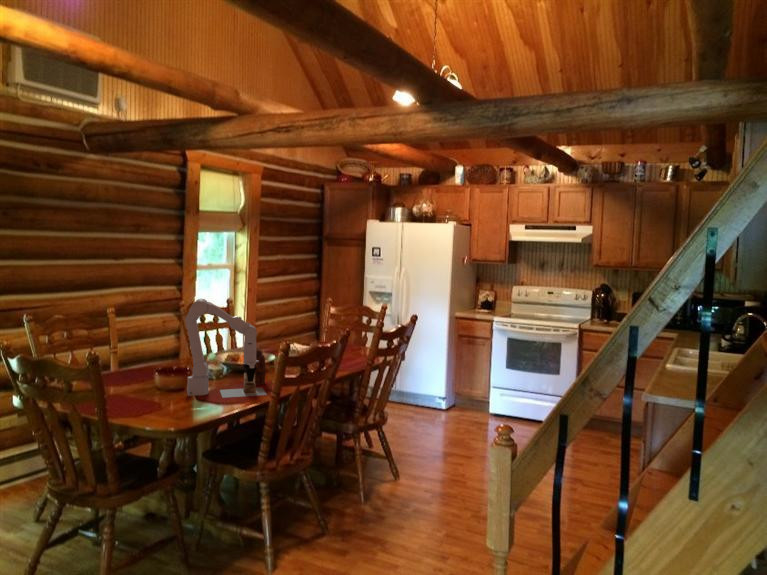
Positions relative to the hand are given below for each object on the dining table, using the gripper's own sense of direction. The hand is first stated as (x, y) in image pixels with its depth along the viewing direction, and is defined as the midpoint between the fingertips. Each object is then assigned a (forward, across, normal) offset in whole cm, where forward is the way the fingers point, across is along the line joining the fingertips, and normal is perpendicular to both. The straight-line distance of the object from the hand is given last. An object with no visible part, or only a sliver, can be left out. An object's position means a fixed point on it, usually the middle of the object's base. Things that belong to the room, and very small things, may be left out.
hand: (249, 380), depth 291 cm
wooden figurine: (+7, +18, -5) cm, 20 cm away
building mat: (+6, 0, +3) cm, 7 cm away
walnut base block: (+6, 0, 0) cm, 6 cm away
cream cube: (+1, 0, 0) cm, 1 cm away
